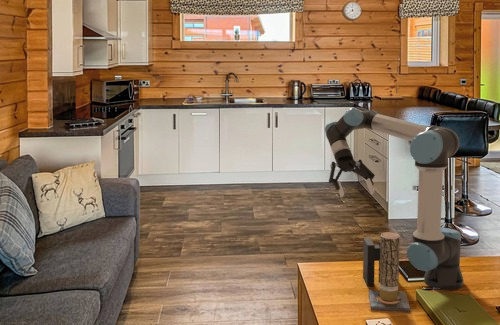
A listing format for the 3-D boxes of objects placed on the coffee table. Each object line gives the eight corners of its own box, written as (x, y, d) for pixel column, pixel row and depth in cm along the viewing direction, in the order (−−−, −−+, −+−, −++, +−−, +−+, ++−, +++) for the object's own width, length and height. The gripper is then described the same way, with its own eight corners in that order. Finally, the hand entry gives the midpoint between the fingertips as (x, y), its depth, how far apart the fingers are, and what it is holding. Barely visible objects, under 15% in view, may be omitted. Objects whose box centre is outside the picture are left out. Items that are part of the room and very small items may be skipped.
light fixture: (401, 286, 200) (402, 245, 197) (367, 287, 201) (367, 245, 198) (395, 277, 210) (396, 237, 207) (362, 277, 211) (363, 237, 208)
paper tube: (398, 302, 183) (400, 238, 179) (379, 301, 184) (381, 237, 180) (397, 294, 189) (398, 232, 185) (378, 293, 191) (380, 231, 187)
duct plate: (405, 295, 192) (405, 291, 192) (409, 312, 179) (410, 307, 179) (368, 293, 195) (368, 289, 195) (370, 309, 181) (370, 305, 181)
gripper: (365, 156, 219) (381, 196, 207) (313, 160, 213) (327, 201, 201) (371, 146, 213) (388, 186, 201) (317, 149, 207) (332, 192, 195)
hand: (357, 194), depth 201 cm, fingers open, 13 cm apart
